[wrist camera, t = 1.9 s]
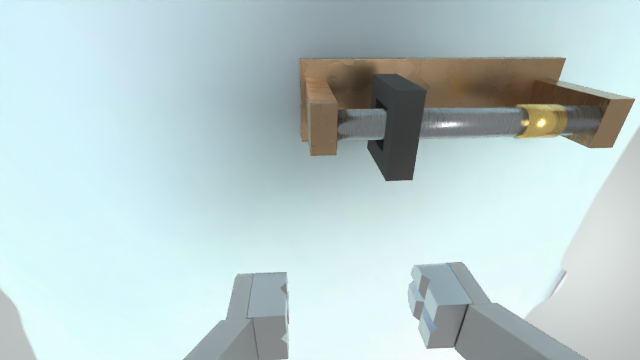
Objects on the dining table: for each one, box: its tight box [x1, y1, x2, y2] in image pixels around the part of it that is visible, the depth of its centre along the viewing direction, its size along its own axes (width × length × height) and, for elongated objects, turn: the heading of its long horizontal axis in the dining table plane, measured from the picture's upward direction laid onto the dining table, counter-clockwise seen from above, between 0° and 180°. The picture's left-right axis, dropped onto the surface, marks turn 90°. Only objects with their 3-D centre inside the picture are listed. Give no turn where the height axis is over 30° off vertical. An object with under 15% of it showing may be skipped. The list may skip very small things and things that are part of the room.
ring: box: [367, 74, 427, 181], centre depth 24 cm, size 2×7×7 cm, turn 0°
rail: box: [300, 57, 635, 156], centre depth 28 cm, size 26×8×9 cm, turn 90°
